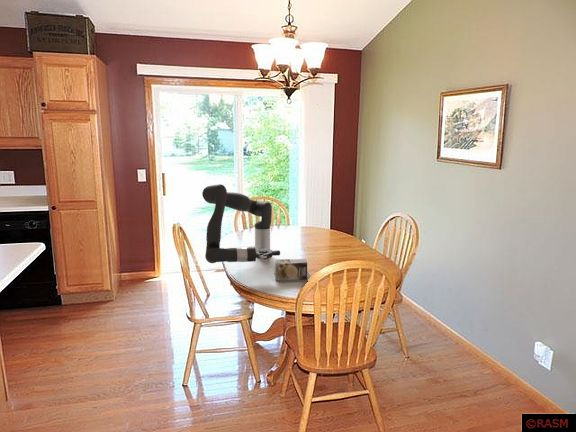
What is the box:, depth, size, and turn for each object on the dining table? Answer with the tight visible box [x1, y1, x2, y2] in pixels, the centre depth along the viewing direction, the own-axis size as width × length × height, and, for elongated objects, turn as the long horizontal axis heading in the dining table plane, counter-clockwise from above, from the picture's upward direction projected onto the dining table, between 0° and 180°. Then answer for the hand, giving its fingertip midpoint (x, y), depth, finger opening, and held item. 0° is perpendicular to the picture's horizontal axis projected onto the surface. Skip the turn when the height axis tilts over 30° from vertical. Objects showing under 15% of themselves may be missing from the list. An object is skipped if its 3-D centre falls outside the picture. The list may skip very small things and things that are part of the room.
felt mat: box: [274, 270, 312, 284], centre depth 214 cm, size 14×18×1 cm
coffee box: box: [274, 258, 308, 281], centre depth 211 cm, size 9×6×16 cm
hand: (279, 252), depth 210 cm, fingers closed
